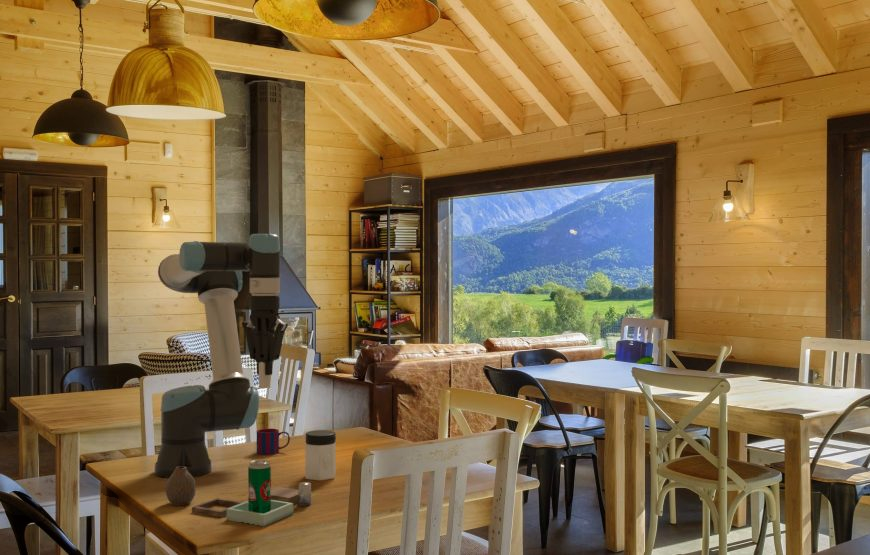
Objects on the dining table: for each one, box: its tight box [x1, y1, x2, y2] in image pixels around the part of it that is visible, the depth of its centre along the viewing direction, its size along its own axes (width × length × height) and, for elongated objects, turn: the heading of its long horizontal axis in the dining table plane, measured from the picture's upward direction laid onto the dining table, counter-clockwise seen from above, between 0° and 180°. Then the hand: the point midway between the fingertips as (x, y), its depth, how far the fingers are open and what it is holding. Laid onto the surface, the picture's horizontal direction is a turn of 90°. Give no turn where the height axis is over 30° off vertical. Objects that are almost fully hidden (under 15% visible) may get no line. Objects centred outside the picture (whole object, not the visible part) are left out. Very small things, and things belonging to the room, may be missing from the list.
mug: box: [256, 428, 291, 456], centre depth 261 cm, size 7×10×7 cm
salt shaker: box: [297, 481, 312, 507], centre depth 204 cm, size 3×3×5 cm
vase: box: [165, 466, 197, 507], centre depth 205 cm, size 7×7×9 cm
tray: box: [226, 500, 294, 527], centre depth 194 cm, size 11×11×2 cm
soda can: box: [247, 459, 272, 514], centre depth 194 cm, size 5×5×12 cm
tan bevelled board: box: [271, 486, 298, 506], centre depth 208 cm, size 9×7×2 cm
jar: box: [304, 429, 337, 481], centre depth 231 cm, size 9×8×12 cm
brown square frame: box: [191, 497, 244, 518], centre depth 199 cm, size 9×9×1 cm
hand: (264, 387), depth 215 cm, fingers closed
